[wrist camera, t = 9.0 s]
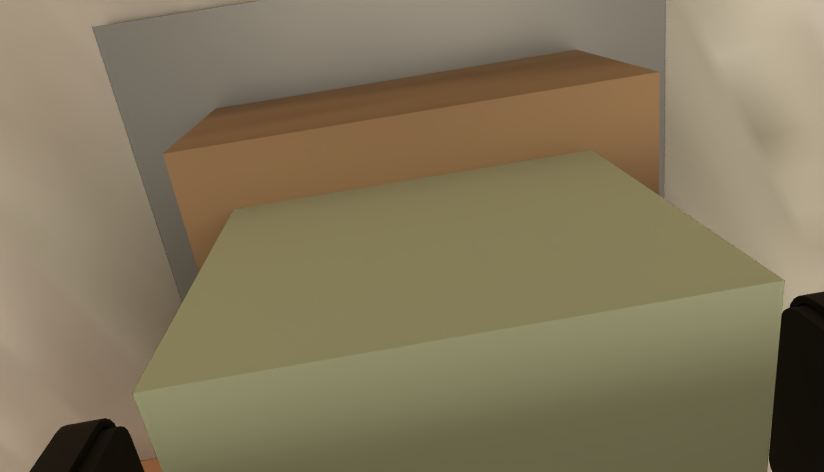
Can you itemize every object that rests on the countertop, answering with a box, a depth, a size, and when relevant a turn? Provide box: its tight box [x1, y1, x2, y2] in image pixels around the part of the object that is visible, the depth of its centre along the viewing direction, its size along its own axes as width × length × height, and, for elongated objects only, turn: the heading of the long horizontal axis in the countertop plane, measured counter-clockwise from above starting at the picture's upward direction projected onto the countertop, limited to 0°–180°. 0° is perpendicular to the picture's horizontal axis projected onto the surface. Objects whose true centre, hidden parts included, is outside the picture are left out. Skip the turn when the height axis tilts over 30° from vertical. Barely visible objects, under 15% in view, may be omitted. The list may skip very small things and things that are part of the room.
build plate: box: [92, 0, 666, 302], centre depth 15 cm, size 12×12×1 cm
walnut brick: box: [163, 50, 660, 271], centre depth 13 cm, size 8×8×4 cm
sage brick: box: [132, 150, 785, 472], centre depth 9 cm, size 6×6×5 cm
